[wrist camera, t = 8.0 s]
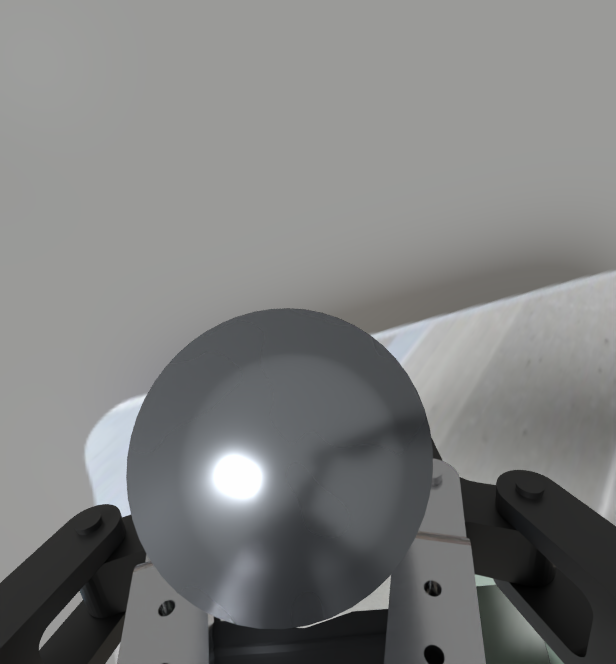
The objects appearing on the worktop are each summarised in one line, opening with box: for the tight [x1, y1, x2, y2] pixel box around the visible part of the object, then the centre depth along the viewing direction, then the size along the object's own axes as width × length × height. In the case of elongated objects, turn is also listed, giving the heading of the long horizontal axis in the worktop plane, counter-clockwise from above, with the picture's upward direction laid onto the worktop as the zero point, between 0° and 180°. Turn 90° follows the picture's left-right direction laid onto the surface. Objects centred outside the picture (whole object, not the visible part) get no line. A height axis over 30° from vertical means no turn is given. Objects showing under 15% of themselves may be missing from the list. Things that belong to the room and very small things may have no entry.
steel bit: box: [126, 308, 433, 629], centre depth 12 cm, size 4×4×16 cm
